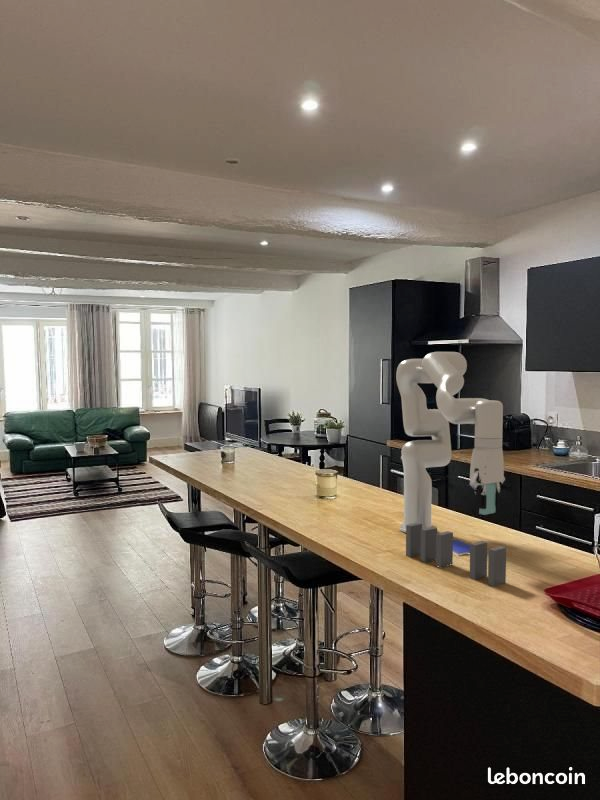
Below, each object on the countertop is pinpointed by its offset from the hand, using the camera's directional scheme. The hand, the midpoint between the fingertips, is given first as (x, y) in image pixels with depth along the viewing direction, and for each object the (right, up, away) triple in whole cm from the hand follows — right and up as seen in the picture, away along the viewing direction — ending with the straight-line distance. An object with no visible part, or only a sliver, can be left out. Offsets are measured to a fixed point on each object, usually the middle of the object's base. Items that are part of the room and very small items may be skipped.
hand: (487, 506), depth 174 cm
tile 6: (-2, -18, -13) cm, 23 cm away
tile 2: (-15, -17, +6) cm, 24 cm away
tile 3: (-12, -17, +1) cm, 21 cm away
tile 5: (-5, -18, -8) cm, 20 cm away
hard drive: (-4, -17, +18) cm, 25 cm away
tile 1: (-19, -17, +11) cm, 28 cm away
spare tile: (0, -2, 0) cm, 2 cm away
